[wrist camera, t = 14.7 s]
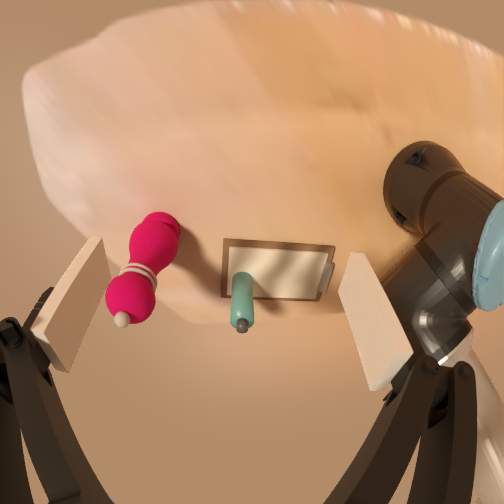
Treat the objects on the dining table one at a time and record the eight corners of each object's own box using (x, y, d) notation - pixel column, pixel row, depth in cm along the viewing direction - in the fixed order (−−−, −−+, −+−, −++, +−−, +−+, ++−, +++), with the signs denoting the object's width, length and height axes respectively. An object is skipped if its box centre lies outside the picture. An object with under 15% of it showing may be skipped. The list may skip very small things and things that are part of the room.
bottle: (248, 269, 47) (249, 319, 38) (255, 284, 49) (257, 334, 40) (229, 274, 48) (226, 324, 39) (236, 289, 50) (235, 339, 40)
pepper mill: (184, 249, 46) (157, 349, 29) (142, 247, 46) (101, 342, 29) (181, 208, 42) (144, 303, 25) (136, 208, 41) (80, 297, 25)
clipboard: (336, 246, 46) (338, 250, 45) (319, 299, 53) (321, 304, 52) (223, 238, 45) (223, 242, 44) (221, 295, 52) (220, 300, 51)
